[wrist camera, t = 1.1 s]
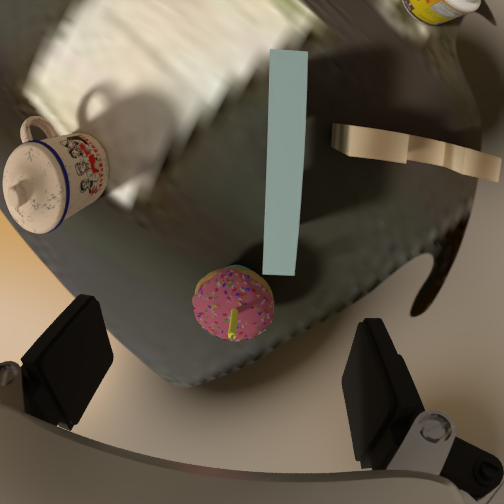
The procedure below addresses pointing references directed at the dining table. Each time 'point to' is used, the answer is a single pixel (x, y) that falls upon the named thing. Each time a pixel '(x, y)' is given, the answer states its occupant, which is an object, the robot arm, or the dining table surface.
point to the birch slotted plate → (413, 150)
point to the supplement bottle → (439, 9)
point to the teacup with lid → (53, 176)
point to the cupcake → (233, 303)
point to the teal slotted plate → (284, 159)
